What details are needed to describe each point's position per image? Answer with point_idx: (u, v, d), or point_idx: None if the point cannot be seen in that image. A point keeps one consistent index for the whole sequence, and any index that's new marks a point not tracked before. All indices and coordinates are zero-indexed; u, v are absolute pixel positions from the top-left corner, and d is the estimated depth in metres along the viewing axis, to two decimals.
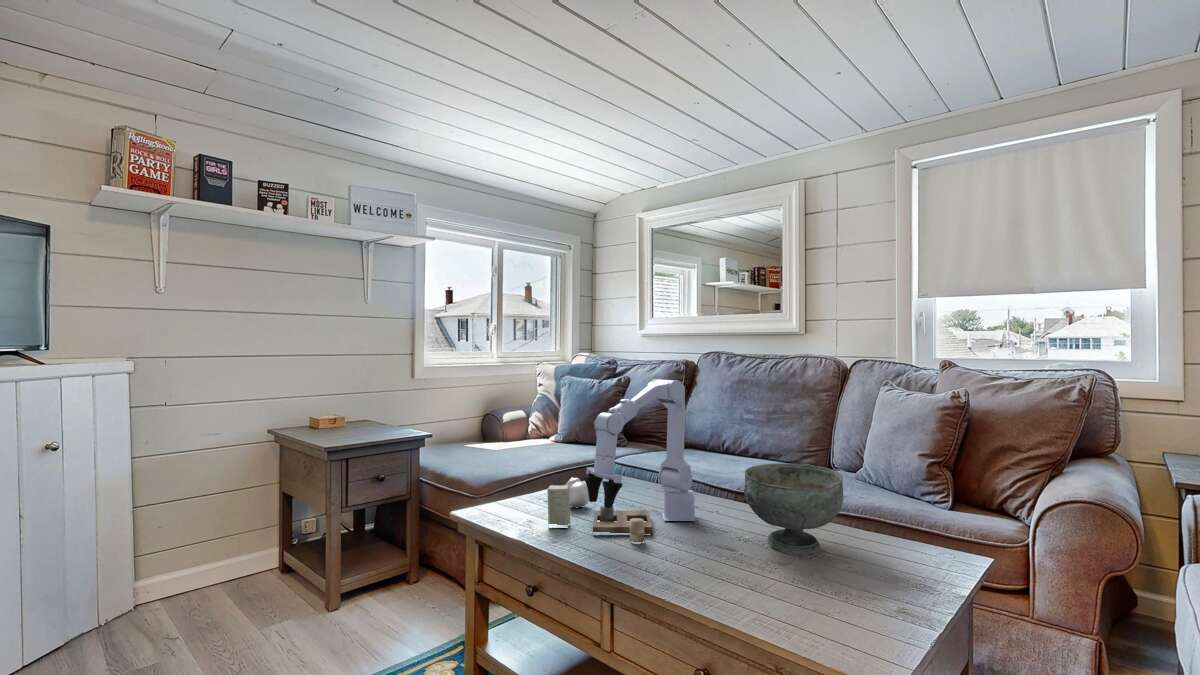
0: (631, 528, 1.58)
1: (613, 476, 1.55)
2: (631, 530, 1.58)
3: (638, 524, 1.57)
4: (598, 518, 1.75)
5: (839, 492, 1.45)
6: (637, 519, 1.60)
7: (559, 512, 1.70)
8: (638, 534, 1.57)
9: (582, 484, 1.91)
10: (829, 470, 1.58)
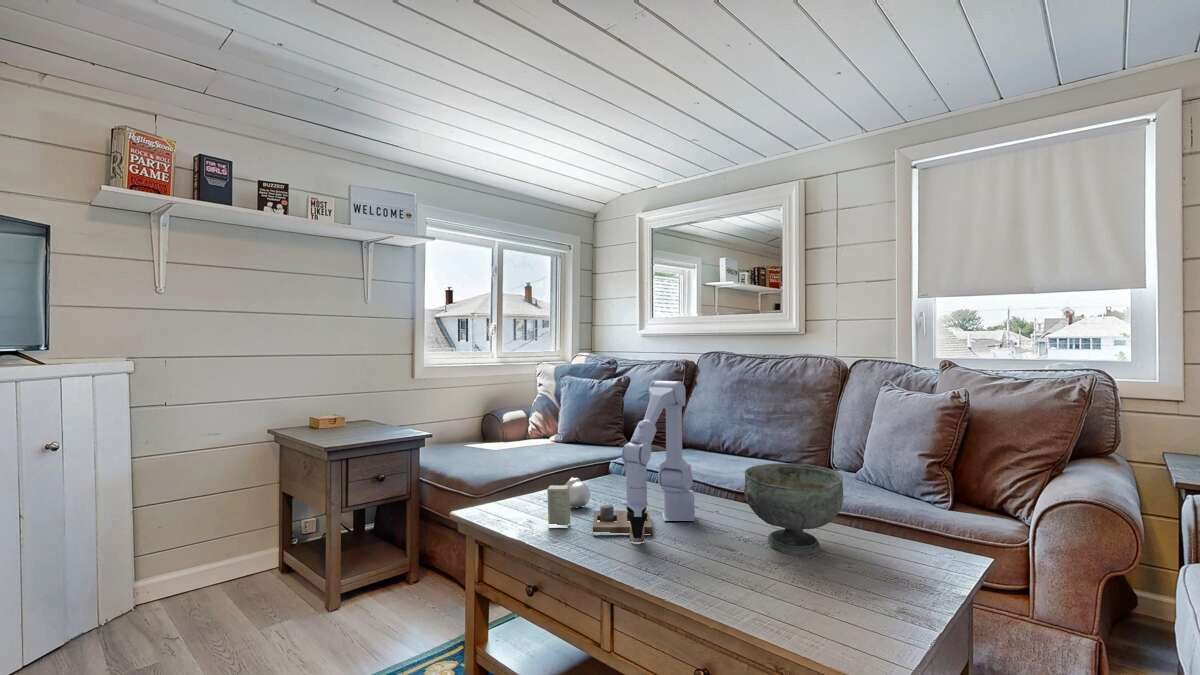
0: (631, 528, 1.58)
1: (633, 509, 1.53)
2: (631, 530, 1.58)
3: None
4: (598, 518, 1.75)
5: (839, 492, 1.45)
6: None
7: (559, 512, 1.70)
8: None
9: (582, 484, 1.91)
10: (829, 470, 1.58)
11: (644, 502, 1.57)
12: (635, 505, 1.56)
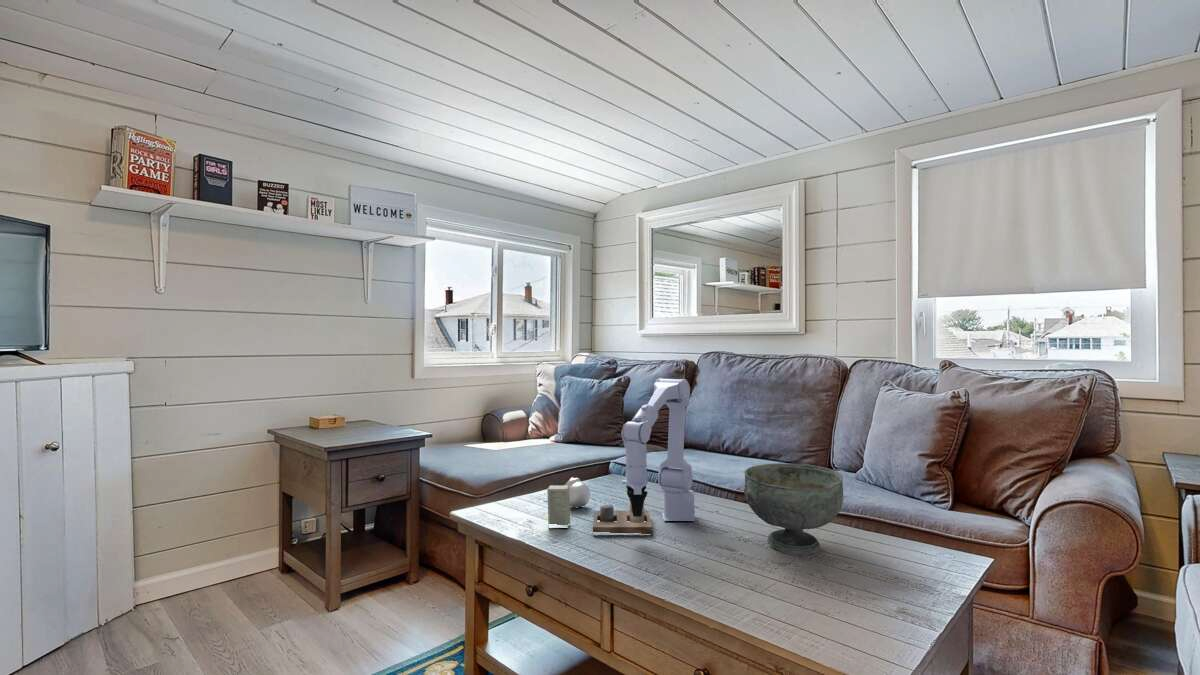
0: (631, 507, 1.58)
1: (633, 487, 1.53)
2: (631, 509, 1.58)
3: None
4: (598, 518, 1.75)
5: (839, 492, 1.45)
6: None
7: (559, 512, 1.70)
8: None
9: (582, 484, 1.91)
10: (829, 470, 1.58)
11: (644, 480, 1.57)
12: (635, 483, 1.56)
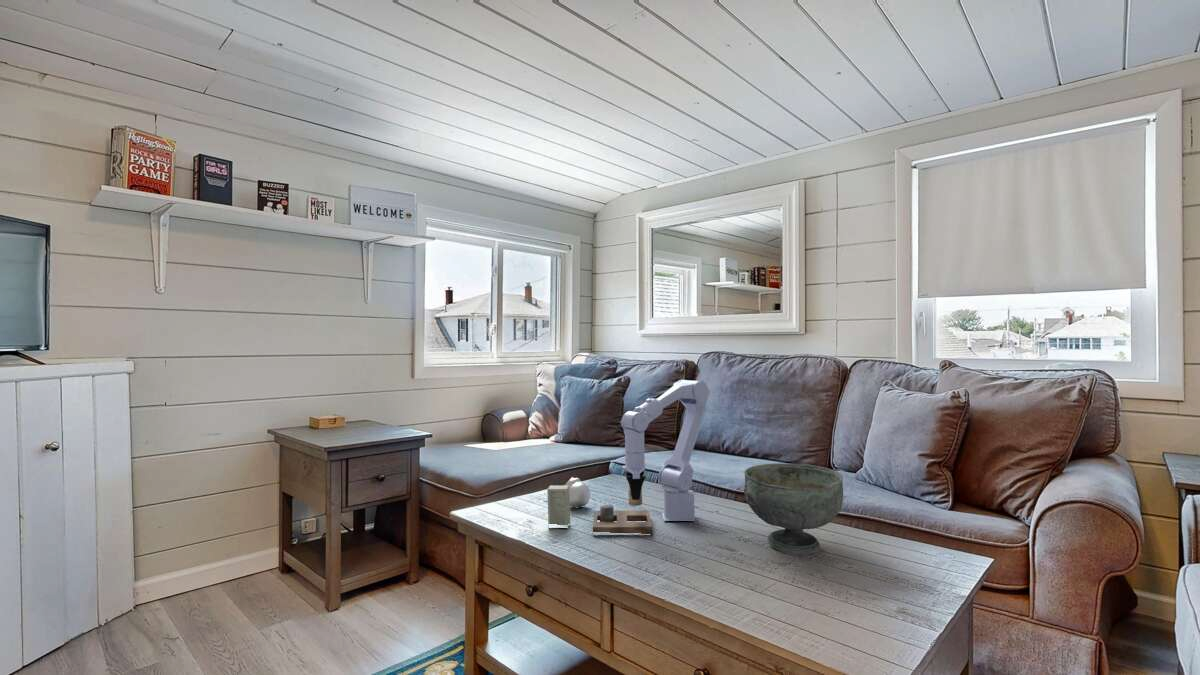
0: (630, 490, 1.69)
1: (632, 472, 1.64)
2: (630, 492, 1.69)
3: None
4: (598, 518, 1.75)
5: (839, 492, 1.45)
6: None
7: (559, 512, 1.70)
8: None
9: (582, 484, 1.91)
10: (829, 470, 1.58)
11: (642, 466, 1.68)
12: (633, 469, 1.67)
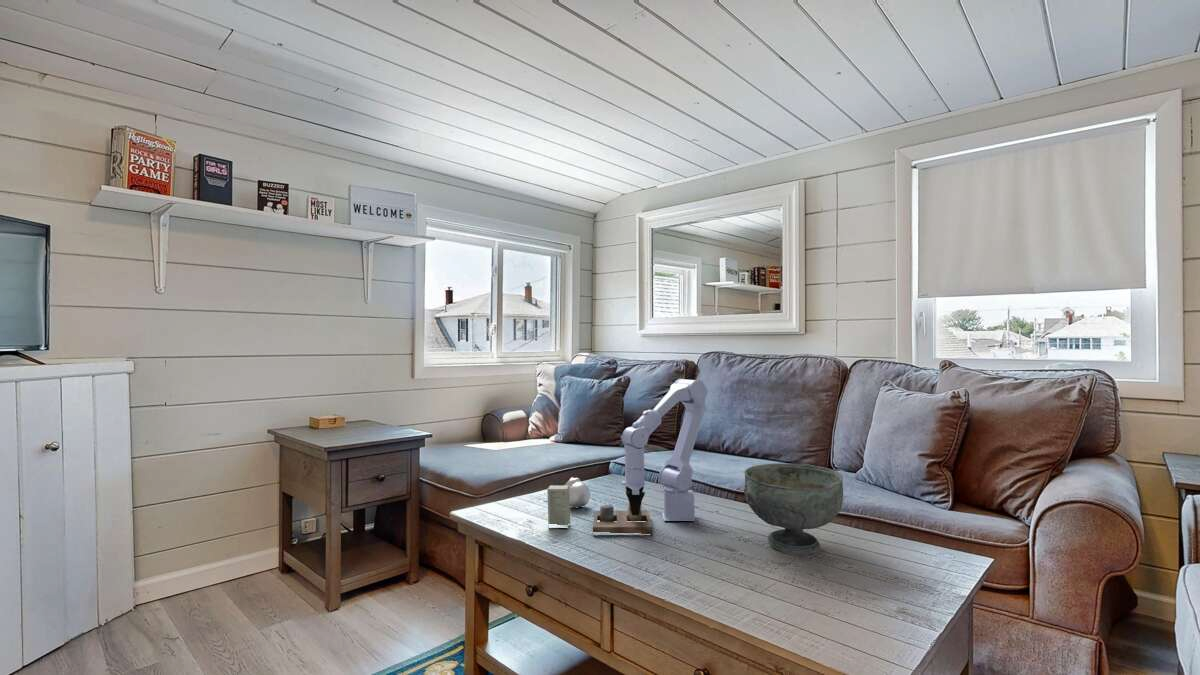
0: (629, 506, 1.71)
1: (631, 488, 1.66)
2: (629, 508, 1.71)
3: None
4: (598, 518, 1.75)
5: (839, 492, 1.45)
6: None
7: (559, 512, 1.70)
8: None
9: (582, 484, 1.91)
10: (829, 470, 1.58)
11: (641, 482, 1.70)
12: (633, 484, 1.69)
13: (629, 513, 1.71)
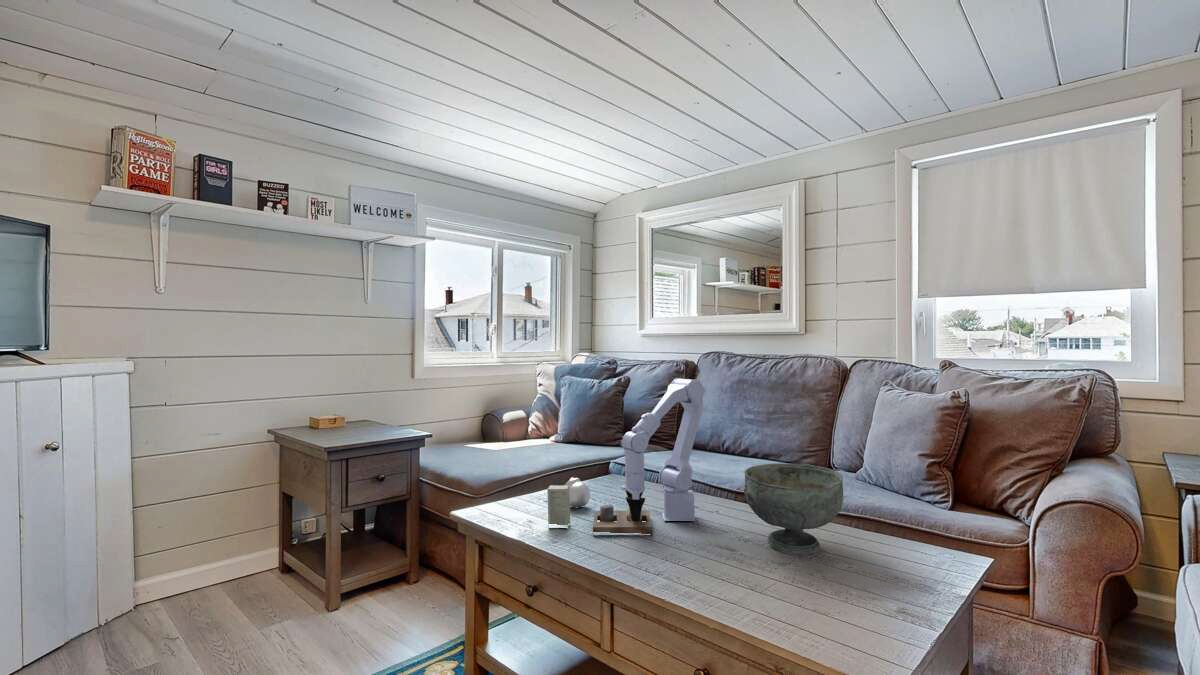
0: (629, 514, 1.71)
1: (632, 493, 1.66)
2: (629, 516, 1.71)
3: None
4: (598, 518, 1.75)
5: (839, 492, 1.45)
6: None
7: (559, 512, 1.70)
8: None
9: (582, 484, 1.91)
10: (829, 470, 1.58)
11: (642, 486, 1.70)
12: (633, 489, 1.69)
13: (629, 521, 1.71)
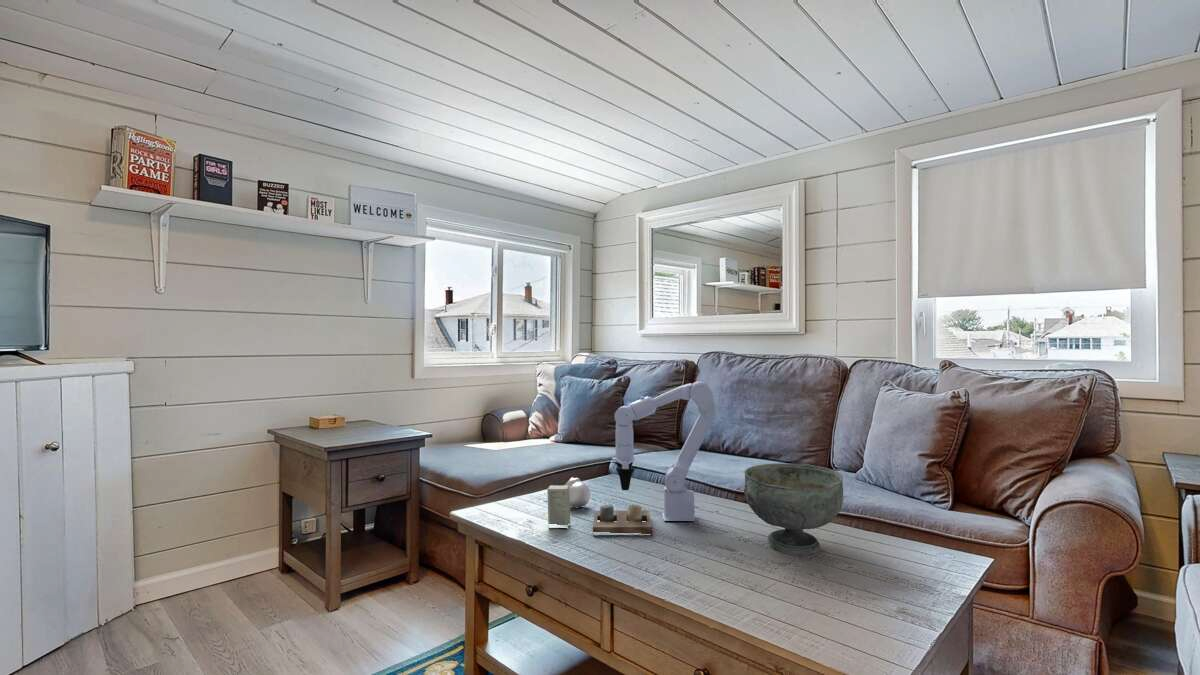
0: (629, 514, 1.71)
1: (621, 463, 1.76)
2: (629, 516, 1.71)
3: (636, 510, 1.70)
4: (598, 518, 1.75)
5: (839, 492, 1.45)
6: (635, 506, 1.73)
7: (559, 512, 1.70)
8: (636, 520, 1.70)
9: (582, 484, 1.91)
10: (829, 470, 1.58)
11: (631, 457, 1.80)
12: (623, 460, 1.79)
13: (629, 521, 1.71)
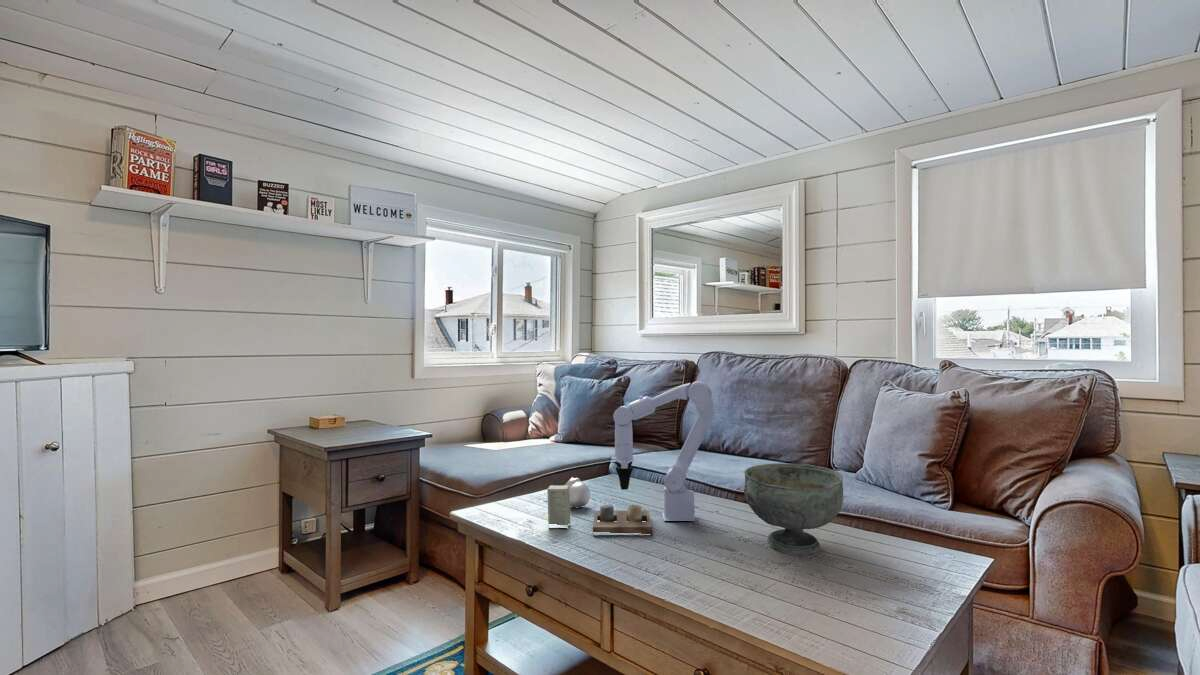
0: (629, 514, 1.71)
1: (620, 462, 1.77)
2: (629, 516, 1.71)
3: (636, 510, 1.70)
4: (598, 518, 1.75)
5: (839, 492, 1.45)
6: (635, 506, 1.73)
7: (559, 512, 1.70)
8: (636, 520, 1.70)
9: (582, 484, 1.91)
10: (829, 470, 1.58)
11: (630, 457, 1.81)
12: (622, 459, 1.80)
13: (629, 521, 1.71)
